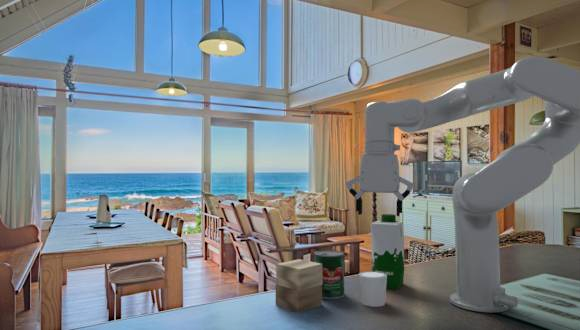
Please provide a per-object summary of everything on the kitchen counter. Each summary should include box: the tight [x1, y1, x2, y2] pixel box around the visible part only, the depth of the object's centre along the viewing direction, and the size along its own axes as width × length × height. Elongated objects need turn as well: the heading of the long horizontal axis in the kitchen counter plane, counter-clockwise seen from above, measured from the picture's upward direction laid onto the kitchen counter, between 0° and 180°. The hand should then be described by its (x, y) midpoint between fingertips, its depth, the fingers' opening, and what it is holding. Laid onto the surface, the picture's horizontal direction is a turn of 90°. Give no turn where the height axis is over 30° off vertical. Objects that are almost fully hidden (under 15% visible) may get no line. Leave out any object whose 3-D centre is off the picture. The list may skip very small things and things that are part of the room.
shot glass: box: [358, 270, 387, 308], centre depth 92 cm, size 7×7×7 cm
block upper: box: [275, 258, 323, 291], centre depth 91 cm, size 8×8×5 cm
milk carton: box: [370, 213, 405, 290], centre depth 108 cm, size 9×9×20 cm
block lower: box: [275, 284, 323, 314], centre depth 91 cm, size 8×8×5 cm
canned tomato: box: [313, 249, 345, 300], centre depth 99 cm, size 8×8×11 cm
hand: (378, 215), depth 97 cm, fingers open, 9 cm apart
